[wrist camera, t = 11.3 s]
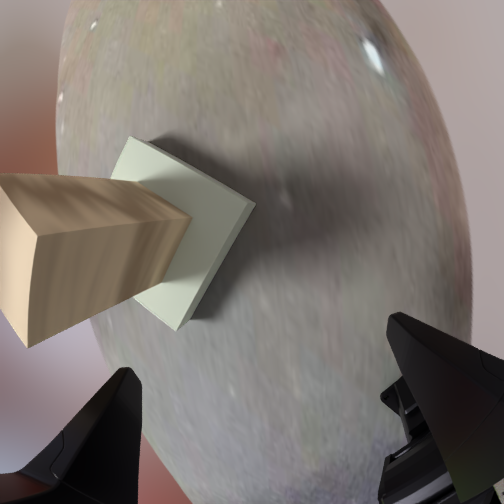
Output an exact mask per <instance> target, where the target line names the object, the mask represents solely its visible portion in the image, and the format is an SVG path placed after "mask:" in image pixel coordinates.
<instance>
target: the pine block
mask: <svg viewBox="0 0 504 504" xmlns="http://www.w3.org/2000/svg"><path fill="white" fill-rule="evenodd" d="M192 218H193V217H191V216H190V215H188V214H187V213H185V212H183V211H182V210H180V209H179V208H177V207H176V206H174V205H173V204H171V203H169V202H168V201H166V200H165V199H163V198H162V197H160V196H159V195H157V194H155V193H154V192H152V191H151V190H149V189H148V188H146V187H145V186H143V185H142V184H140V183H138V182H136V181H126V180H116V179H105V178H93V177H79V176H63V175H43V174H10V173H7V174H6V173H4V174H3V173H1V174H0V309H1V310H2V312H3V313H4V315H5V317H6V318H7V320H8V321H9V323H10V324H11V326H12V327H13V329H14V330H15V332H16V333H17V335H18V336H19V337H20V339H21V340H22V342H23V343H24V344H25V346H26V347H27V348H30V347H32V346H34V345H36V344H38V343H40V342H42V341H44V340H45V339H48V338H50V337H52V336H54V335H56V334H58V333H60V332H62V331H64V330H66V329H68V328H70V327H72V326H74V325H76V324H78V323H80V322H82V321H84V320H86V319H88V318H90V317H92V316H94V315H96V314H98V313H100V312H102V311H104V310H106V309H108V308H110V307H112V306H114V305H117V304H119V303H121V302H123V301H125V300H127V299H129V298H131V297H133V296H135V295H137V294H139V293H141V292H143V291H145V290H147V289H150V288H152V287H154V286H156V285H158V284H160V283H161V282H162V280H163V278H164V276H165V274H166V271H167V269H168V267H169V265H170V263H171V261H172V259H173V257H174V255H175V252H176V250H177V248H178V246H179V244H180V242H181V240H182V238H183V236H184V234H185V232H186V230H187V228H188V226H189V224H190V222H191V220H192Z"/></svg>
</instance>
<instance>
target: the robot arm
mask: <svg viewBox="0 0 504 504" xmlns="http://www.w3.org/2000/svg"><path fill="white" fill-rule="evenodd" d="M386 335H387V339H388V341H389V344H390V346H391V349H392V351H393V353H394V356H395V358H396V361H397V363H398V366H399V368H400V371H401V373H402V375H403V376H402V377H401V378H400V379H398V380H397V381H396V382H395V383H394V384H392V385H391V386H390V387H389V388H387V389H386V390H385V391H384V392H382V393H381V395H380V399H381V401H382V402H383V403H384V404H386V405H387V406H388V407H389V408H390V409H392V410H393V411H394V412H395V413H396V414H398V415H399V416H400V417H401V420H402V423H403V427H404V431H405V434H406V438H407V442H408V444H407V445H406V446H404V447H403V448H401V449H400V450H398V451H397V452H395V453H394V454H390V455H389V456H387V457H386V458H385V462H384V467H383V472H382V477H381V481H380V486H379V490H378V501H379V504H504V360H502V359H499V358H497V357H495V356H493V355H491V354H488V353H486V352H484V351H482V350H479V349H478V348H475V347H474V346H472V345H469V344H467V343H465V342H463V341H461V340H459V339H457V338H455V337H453V336H451V335H449V334H446V333H444V332H442V331H440V330H438V329H436V328H434V327H432V326H430V325H428V324H425V323H423V322H421V321H419V320H417V319H415V318H413V317H411V316H408V315H406V314H404V313H402V312H397V313H394V314H391V315H390V316H389V318H388V324H387V331H386ZM385 396H387V397H385ZM141 430H142V384H141V381H140V380H139V378H138V377H137V375H136V374H135V372H134V371H133V370H132V368H130V367H121V368H119V369H118V370H117V371H116V372H115V373H114V374H113V375H112V376H111V378H110V379H109V380H108V381H107V382H106V383H105V384H104V385H103V386H102V387H101V388H100V389H99V390H98V391H97V393H96V394H95V395H94V396H93V397H92V398H91V399H90V400H89V401H88V402H87V403H86V404H85V405H84V407H83V408H82V409H81V410H80V411H79V412H78V413H77V414H76V415H75V416H74V417H73V419H72V420H71V421H70V422H69V423H68V424H67V425H66V426H65V427H64V428H63V430H62V431H61V432H60V433H59V434H58V435H57V436H56V437H55V438H54V439H53V440H52V441H51V443H49V445H48V446H46V447H45V449H43V450H42V451H41V452H40V453H39V454H38V455H37V456H36V457H35V458H33V459H32V460H31V461H30V462H29V463H28V464H27V465H26V466H25V467H24V468H22V469H21V470H19V471H17V472H14V473H5V474H0V504H138V474H139V456H140V441H141Z"/></svg>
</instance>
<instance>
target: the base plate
mask: <svg viewBox="0 0 504 504" xmlns="http://www.w3.org/2000/svg"><path fill="white" fill-rule="evenodd" d="M110 179H116V180H126V181H136V182H138V183H140V184H142V185H143V186H145V187H146V188H148V189H149V190H151V191H152V192H154V193H155V194H157V195H159V196H160V197H162V198H163V199H165V200H166V201H168V202H169V203H171V204H173V205H174V206H176V207H177V208H179V209H180V210H182V211H183V212H185V213H187V214H188V215H190V216H191V217H193V218H192V220H191V222H190V224H189V226H188V228H187V230H186V232H185V234H184V236H183V238H182V240H181V242H180V244H179V246H178V248H177V250H176V252H175V255H174V257H173V259H172V261H171V263H170V265H169V267H168V269H167V271H166V274H165V276H164V278H163V280H162V282H161V283H160V284H158V285H156V286H154V287H152V288H150V289H147V290H145V291H143V292H141V293H139V294H137V295H135V296H133V298H134V299H135V300H137V301H138V302H139V303H140V304H141V305H143V306H144V307H145V308H146V309H148V310H149V311H150V312H151V313H153V314H154V315H155V316H156V317H158V318H159V319H160V320H162V321H163V322H164V323H165V324H167V325H168V326H169V327H171V328H172V329H173V330H175V331H177V330H178V329H180V328H181V327H182V326H183V325H184V324H185V323H187V322H188V321H189V320H190V319H191V317H192V315H193V313H194V311H195V310H196V308H197V306H198V304H199V302H200V301H201V299H202V297H203V295H204V294H205V292H206V290H207V288H208V286H209V285H210V283H211V281H212V279H213V278H214V276H215V274H216V272H217V271H218V269H219V267H220V265H221V264H222V262H223V260H224V258H225V257H226V255H227V253H228V251H229V250H230V248H231V246H232V244H233V243H234V241H235V239H236V237H237V236H238V234H239V232H240V231H241V229H242V227H243V225H244V224H245V222H246V220H247V219H248V217H249V215H250V213H251V212H252V210H253V208H254V207H255V205H256V203H254V202H253V201H251V200H249V199H248V198H246V197H244V196H243V195H241V194H239V193H238V192H236V191H234V190H233V189H231V188H229V187H227V186H226V185H224V184H222V183H221V182H219V181H217V180H216V179H214V178H212V177H210V176H209V175H207V174H205V173H203V172H202V171H200V170H198V169H196V168H195V167H193V166H191V165H189V164H188V163H186V162H184V161H182V160H180V159H179V158H177V157H175V156H173V155H171V154H170V153H168V152H166V151H164V150H162V149H160V148H159V147H157V146H155V145H153V144H151V143H149V142H147V141H144V140H141V139H138V138H135V137H132V136H130V137H129V139H128V141H127V143H126V145H125V147H124V149H123V151H122V153H121V155H120V158H119V160H118V162H117V164H116V166H115V169H114V171H113V173H112V176H111V178H110Z"/></svg>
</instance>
